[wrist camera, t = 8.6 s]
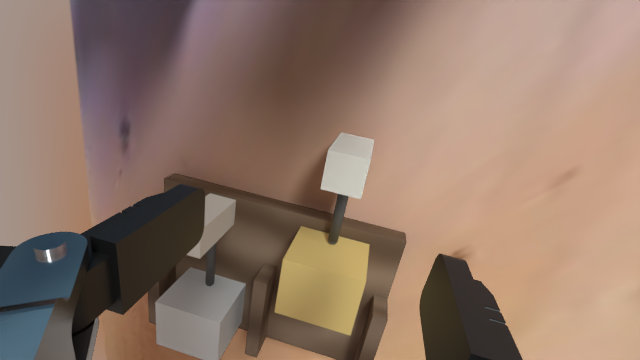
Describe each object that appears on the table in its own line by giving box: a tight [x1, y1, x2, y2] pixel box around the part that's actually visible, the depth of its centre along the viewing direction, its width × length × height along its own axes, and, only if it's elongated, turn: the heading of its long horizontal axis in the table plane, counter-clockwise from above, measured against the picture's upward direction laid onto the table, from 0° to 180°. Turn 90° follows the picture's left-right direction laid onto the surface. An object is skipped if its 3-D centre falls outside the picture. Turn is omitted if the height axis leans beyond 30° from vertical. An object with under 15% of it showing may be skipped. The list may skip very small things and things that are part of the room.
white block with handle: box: [155, 193, 246, 360], centre depth 27 cm, size 14×6×6 cm, turn 169°
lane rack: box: [148, 174, 406, 360], centre depth 28 cm, size 15×22×4 cm
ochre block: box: [274, 132, 374, 335], centre depth 22 cm, size 14×6×6 cm, turn 169°
